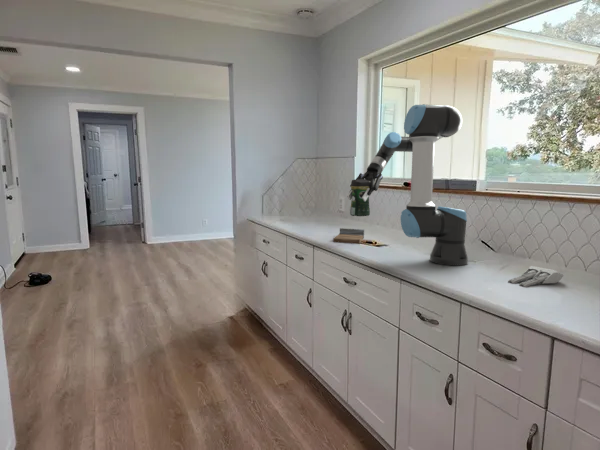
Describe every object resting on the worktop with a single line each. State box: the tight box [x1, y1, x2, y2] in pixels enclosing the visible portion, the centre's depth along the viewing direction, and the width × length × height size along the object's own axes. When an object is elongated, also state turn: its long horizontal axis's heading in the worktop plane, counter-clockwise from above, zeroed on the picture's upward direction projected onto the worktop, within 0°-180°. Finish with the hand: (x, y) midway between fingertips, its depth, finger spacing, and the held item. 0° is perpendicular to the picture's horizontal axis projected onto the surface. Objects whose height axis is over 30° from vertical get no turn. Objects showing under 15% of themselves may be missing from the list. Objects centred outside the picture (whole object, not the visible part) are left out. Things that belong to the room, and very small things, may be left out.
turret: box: [507, 265, 564, 288], centre depth 132 cm, size 10×20×5 cm, turn 113°
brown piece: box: [332, 227, 365, 245], centre depth 211 cm, size 20×14×5 cm
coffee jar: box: [349, 178, 371, 217], centre depth 192 cm, size 10×8×19 cm
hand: (356, 198), depth 190 cm, fingers closed on coffee jar, 9 cm apart
